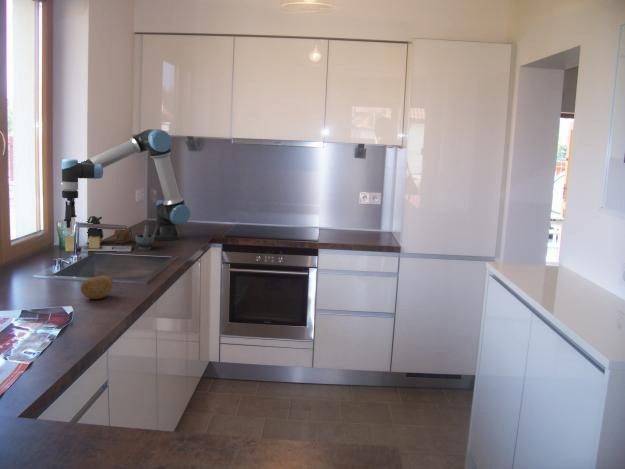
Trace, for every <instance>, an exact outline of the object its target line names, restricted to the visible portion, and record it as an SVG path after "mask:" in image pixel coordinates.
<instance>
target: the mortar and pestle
mask: <svg viewBox="0 0 625 469" xmlns="http://www.w3.org/2000/svg"><path fill="white" fill-rule="evenodd" d="M143 227H144V229H143V234H136V235H135V236H134V239H135V243H136V245H137V246H138V250H141V251H148V250H151V249H152V246H153V244H154V242H155V239H154V236H153V234H150V225H144V226H143Z"/></svg>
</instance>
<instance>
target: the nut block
mask: <svg viewBox="0 0 625 469" xmlns="http://www.w3.org/2000/svg"><path fill="white" fill-rule="evenodd" d="M74 236H75V235H66V236H65V238H64V239H65V241H64V242H65V252H75V251H74Z"/></svg>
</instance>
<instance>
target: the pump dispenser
mask: <svg viewBox="0 0 625 469" xmlns="http://www.w3.org/2000/svg"><path fill="white" fill-rule="evenodd" d="M88 218H89V219H88ZM88 218H87V220H88V221H87V220H86V222H88V223H93V224H101V225H102V223H101V221H100V220H102V219H103V217H102V216H99V217H98V216H94V215H92V216H89V217H88ZM87 233H88V239H89V236H100V243H102V241H103V240H104V230H103V228H102V229H97V228H89V229H88V232H87Z"/></svg>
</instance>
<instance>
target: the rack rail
mask: <svg viewBox="0 0 625 469" xmlns="http://www.w3.org/2000/svg"><path fill="white" fill-rule="evenodd" d="M100 248H101V249H89V245H83V246H82V247H81V249H80V252H81V253H86V252H87V253H89V252H88V251H117V252H131V251H132V245H107V246H106V245H100ZM112 248H113V249H112Z"/></svg>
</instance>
